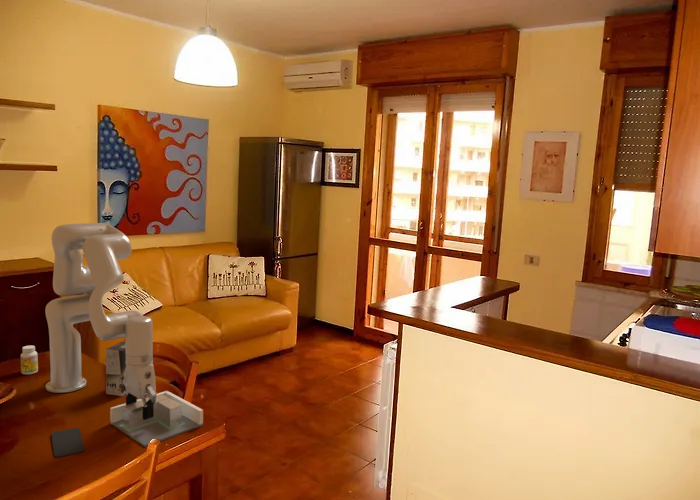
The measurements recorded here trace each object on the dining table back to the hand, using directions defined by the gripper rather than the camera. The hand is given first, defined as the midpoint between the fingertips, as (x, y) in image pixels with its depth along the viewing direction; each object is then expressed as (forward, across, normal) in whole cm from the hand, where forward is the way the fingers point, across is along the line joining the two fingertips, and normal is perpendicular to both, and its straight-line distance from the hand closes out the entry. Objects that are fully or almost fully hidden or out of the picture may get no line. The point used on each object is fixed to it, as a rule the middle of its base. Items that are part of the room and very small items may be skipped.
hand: (139, 413), depth 162 cm
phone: (+5, +4, +19) cm, 20 cm away
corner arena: (+4, -3, -4) cm, 6 cm away
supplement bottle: (+4, +66, +7) cm, 67 cm away
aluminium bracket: (+3, -3, -2) cm, 5 cm away
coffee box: (+4, +28, -9) cm, 30 cm away
